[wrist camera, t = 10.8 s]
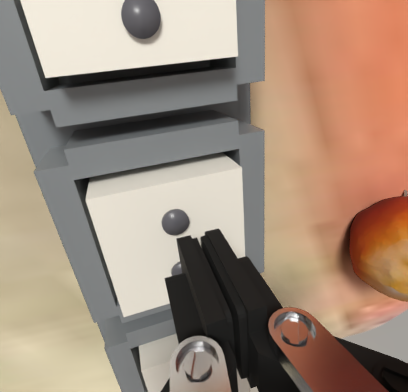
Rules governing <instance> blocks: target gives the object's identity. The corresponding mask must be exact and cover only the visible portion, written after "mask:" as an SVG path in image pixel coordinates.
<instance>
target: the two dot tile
mask: <svg viewBox="0 0 408 392" xmlns="http://www.w3.org/2000/svg"><path fill="white" fill-rule="evenodd" d="M86 203H87V206H88V209H89V213H90V216H91V219H92V222H93V225H94V228H95V231H96V234H97V237H98V240H99V243H100V246H101V249H102V252H103V255H104V259H105V262H106V265H107V268H108V271H109V274H110V277H111V280H112V283H113V286H114V289H115V292H116V295H117V298H118V301H119V304H120V308H121V311H122V314H123V317H126V316H130V315H133V314H136V313H140V312H143V311H146V310H150V309H153V308H156V307H159V306H163V305H166V304H169V303H170V302H169V297H168V292H167V288H166V283H165V278H166V277H170V276H174V275H178V274H181V273H182V270H181V264H180V258H179V252H178V246H177V240H176V239H177V238H180V237H185V236H189V235H191V237H192V238H197V239H198V241H199V243H200V246H201V239H200V238H201V236H205V231H210V230H214V229H218V228H219V229H220V231H221V232H222V234H223V235H224V237H225V239H226V240H227V242H228V243H229V245H230V247H231V248H232V250H233V252H234V253H235V255H236V256H237V258H241V257H245V236H244V208H243V181H242V167H241V166H239V165H238V164H237V163H235V162H234V161H233V160H232V159H230V158H229V157H228V156H227V155H225V154H224V153H223V152H219V153H214V154H209V155H204V156H198V157H193V158H188V159H183V160H177V161H172V162H167V163H162V164H156V165H151V166H146V167H141V168H135V169H130V170H125V171H120V172H114V173H109V174H104V175H98V176H93V177H90V178H89V184H88V189H87V194H86ZM201 248H202V247H201Z"/></svg>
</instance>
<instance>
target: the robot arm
mask: <svg viewBox="0 0 408 392" xmlns="http://www.w3.org/2000/svg"><path fill="white" fill-rule="evenodd" d="M200 239H201V246H200V243H199V241H198V239H197V238H192V237H191V235H189V236H185V237H180V238H177V239H176V240H177V246H178V252H179V258H180V264H181V270H182V273H181V274H178V275H174V276H170V277H166V278H165V283H166V288H167V292H168V297H169V302H170V306H171V311H172V316H173V320H174V325H175V330H176V334H177V339H178V344H179V345H178V346H177V347H176V348H175V349H174V351H173V353H172V355H171V358H170V365H169V372H170V377H169V379H168V381H167V382H166V384H165V385H164V387H163V389H162V390H161V392H238V380H237V371H238V373H239V376H240V378H241V379H244V378H247V380H248V383H249V385H250V387H251V388H253V387H256V386H257V388H258V391H259V392H408V363H405V362H403V361H401V360H399V359H397V358H394V357H391V356H388V355H385V354H382V353H380V352H377V351H374V350H371V349H368V348H365V347H362V346H360V345H357V344H354V343H351V342H348V341H346V340H343V339H340V338H337V337H334V336H332V335H331V334H330V333H329V332H328V331H327V330H326V329H325V328H324V327H323V326H322V325H321V324H320V323H319V322H318V321H317V320H316V319H315V318H314V317H313V316H312V315H311V314H309V313H308V312H306V311H304V310H302V309H298V308H293V307H289V308H283V307H282V306H281V304H280V303H279V301H278V300H277V298H276V297H275V295H274V294H273V292H272V291H271V290H270V288H269V287H268V285H267V284H266V282H265V281H264V279H263V278H262V276H261V275H260V273H259V272H258V270H257V269H256V267H255V266H254V264H253V263H252V261H251V260H250V259H249V258H248V257H247V256H245V257H241V258H237V256H236V255H235V253H234V252H233V250H232V248H231V247H230V245H229V243H228V242H227V240H226V239H225V237H224V235H223V234H222V232H221V231H220V229H219V228H218V229H214V230H210V231H205V236H201V238H200ZM201 247H202V248H201Z"/></svg>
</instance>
